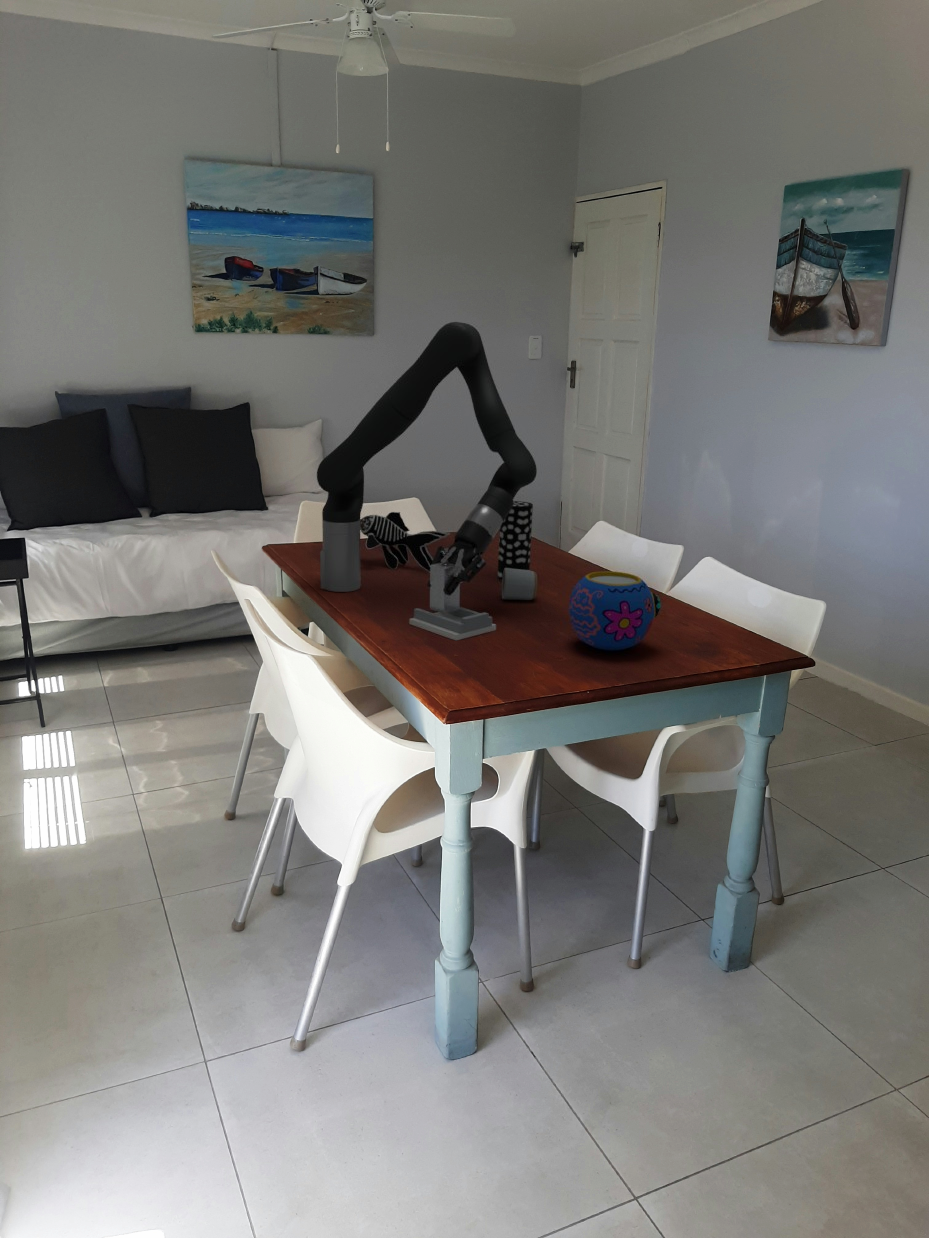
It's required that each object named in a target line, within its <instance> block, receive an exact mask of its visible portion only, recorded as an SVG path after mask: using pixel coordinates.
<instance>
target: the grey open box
mask: <svg viewBox="0 0 929 1238" xmlns="http://www.w3.org/2000/svg"><path fill="white" fill-rule="evenodd" d="M408 621H409V625H411V626H414V627H417V628H420V629H423V630H426V631H428V632H430V633H433V634H437V635H439V636H442V637H445V638H448V639H451V640H453V641H460V640H462V639H463V640H464V639H467V638H471V637H474V636H479V635H482V634H487V633H489V632H490V633H491V632H494V631H497V624H496V623H493V617H492V616H491V615H489V613H488V612H485V611H484V612H478V611H474V610H471V609H468V608H465V607H462V606H459V610H457V611H453V612H449V613H445V614H443V613H440V612H437V611H436V612H434V613H433V612H431V611H428V610H425V609H422V608H419V607H418V608H417V607H416V608H414V609H413V617H412V618H409V620H408Z"/></svg>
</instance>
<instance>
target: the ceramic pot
mask: <svg viewBox="0 0 929 1238" xmlns="http://www.w3.org/2000/svg"><path fill="white" fill-rule="evenodd" d="M661 608H662V605H661V599H660V597H659V596H658V595H657V594H656V593H653V592H652V590H650V588H649V585H648V584H647V583H646V582H645V581H644V580H643V579H642V578H640V577H639V576H637V575H635V574H631V573H629V572H620V571H610V570H609V571H608V570H606V571H594V572H590V573H588V574H586V575H584V576H583V577H582V578H581V579H580V580H579V581H578V582H577V583H576V585H575V586H574V588H573V590H572V593H571V594H570V598H569V603H568V615H569V621H570V625H571V626H572V630H573V631H574V633H575V636H576V637H578V638H577V639H579V640H581V641H582V642H583V643H584V644H585V645H588V646H591V647H592V648H595V649H598V650H602V651H613V652H614V651H621V650H622V651H623V650H626V649H628V648H631V647H634V646H636V645H638V644H639V643H641V641H643V640H644V638H645V637H646V636H647V635H648V633H649V631H650V629H651V627H652V625H653V622H654V620H655V619H656V617H657V616H658V615H659V613H660V611H661Z"/></svg>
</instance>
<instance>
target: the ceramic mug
mask: <svg viewBox="0 0 929 1238" xmlns="http://www.w3.org/2000/svg"><path fill="white" fill-rule="evenodd" d="M537 590H538V574H537V572H536V571H533V570H521V569H512V568H504V571H503V579H502V581H501V598H502V600H512V601H513V600H515V601H532V600H534V599H535V598H536V595H537Z"/></svg>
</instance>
